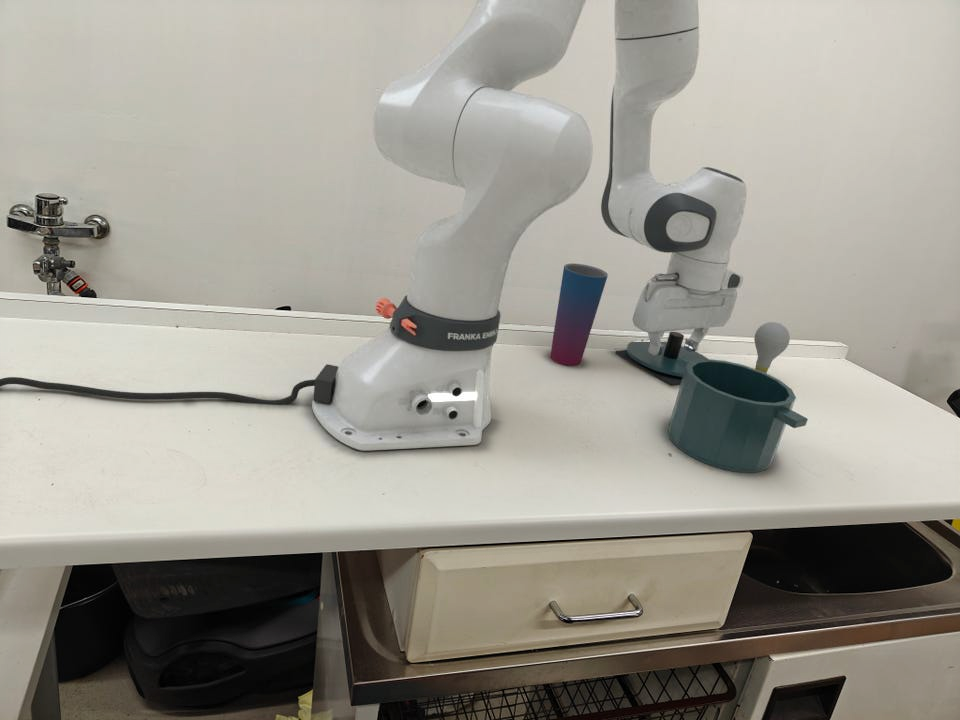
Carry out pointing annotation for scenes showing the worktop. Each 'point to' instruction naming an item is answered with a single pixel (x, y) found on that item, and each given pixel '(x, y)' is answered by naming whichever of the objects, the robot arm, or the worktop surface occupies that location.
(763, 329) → the light bulb
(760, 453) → the pot
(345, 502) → the worktop surface
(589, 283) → the cup
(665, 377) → the plate
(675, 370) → the lid
